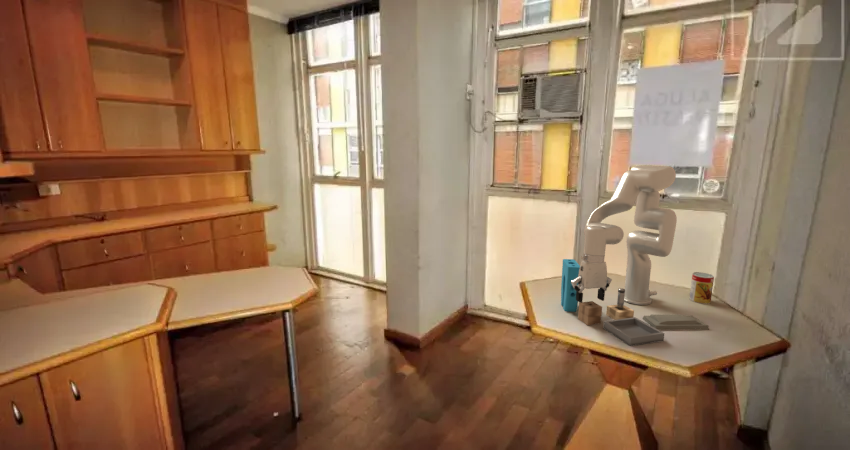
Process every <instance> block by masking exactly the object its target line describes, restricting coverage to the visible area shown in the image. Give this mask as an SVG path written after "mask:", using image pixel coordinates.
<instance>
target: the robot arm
mask: <svg viewBox="0 0 850 450" xmlns="http://www.w3.org/2000/svg"><path fill="white" fill-rule="evenodd" d="M676 176H677V174H676V170H675V168H673V167H672V166H668V165H652V164H651V165H650V164H649V165H647V164H642V165H639V164H638V165H634V166H632V167H631V168H630V169H629V170H627V171H625V172H624V173H623V174H622V176H621V178H620V179H619V182H618V183H617V186H616V188H615V189H614V191H613V194H612V195H611V198H610V199H609V200H607V201H606V202H603V203H602V204H601V205H599V206H598V207H597V208H596V209H594V210H593V211H592V212H591V214H590V216H589V218H588V219H587V221H586V224H585V226H584V229H583V230H584V232H583V233H584V244H583V254H582V255H580V259H581V262H580V264H579V265H580V269H579V274H578V277H577V278H576V279H574V280H572V281H571V283H572V286H573V288H574V289H575V290H576V300H577V301H578V303H582V302H583V299H584V291H585V289H587V290H588V289H589V290H590V289H591V290H592V289H597V299H599V300H600V301H603V302H604V301H605V296H606V294H605V293H606V291H607V290H608V288H609V287H610V284H611V283H612V281H613V279H612V278H610V277H608V267H607V262H606V261H605V258H606V257H605V256H606V246H607V245H617V244H619V243H621V242H622V240H623V239H624V235H625V234H624V230H623V229H622V227H620V226H619V225H615V224H609V223H603V220H604V219H605V220H606V218H608V217H610V216H613V215H617V214H620V213H621V214H622V213H624V212H628V211H630V210H631V209H632V208H633V207H634V204H635V202H636V204H635V208H634V209H635V211H634V216H633V218H634V219H633V221H634V225H635V226H636V227H638V228H643V229H649V230H655V231H658V233H656V232H651V231H646V230H633V231H631V232H629V233H628V234H627V236H626V241H625V242H626V250H627V252H626V254H627V257H626V260H627V261H626V269H625V279H624V280H625V282H624V289H625V296H624V303H628V304H633V305H640V306H642V305H643V306H644V305H645V306H646V305H650V304H652V298H651V297H652V296H657V294H658V291H656V290H650V283H651V270H652V261H651V259H650V256H654V257H660V258H665V257H668V256H669V255H670V254H671V252H672V250H673V245H674V239H675V233H676V227H677V214H676V212H675V211H674V210H673V209H671V208H665V207H660V201H661V199H660V198H661V195H660V191H663V190H665V189H668V188H670V186H672V185H673V184H674V182H675V180H676ZM649 255H650V256H649ZM577 283H578V286H577Z"/></svg>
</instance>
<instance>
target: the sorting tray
mask: <svg viewBox="0 0 850 450" xmlns="http://www.w3.org/2000/svg"><path fill="white" fill-rule="evenodd" d="M602 328H603V330H605V332H607V333H610V335H613V336H614V338H617V339H619V340H620V341H622V342H623V343H624V344H626V345H628V346H629V347H634V346H639V345H647V344H654V343H659V342H660V343H661V342H664V341H665V335H666V334H665V332H664V331H662V330H658V329H656V328H654V327H652V326H650V325H649V324H648V323H647V322H645V321H644V320H643V321H642V320H641V319H639V318H637V317H635V316H634V317H633V318H625V319H618V320H614V319H612V320H603V326H602Z"/></svg>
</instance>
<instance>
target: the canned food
mask: <svg viewBox="0 0 850 450" xmlns="http://www.w3.org/2000/svg"><path fill="white" fill-rule="evenodd" d="M714 280H715V275H713V274H712V273H708V272H704V271H703V272H702V271H696V272H695V271H694V272H692V274H691V284H690V290H689V297H688V298H689V300H690V301H691V302H693V303H698V304H703V305H706V304H707V305H708V304H710V303H712V295H713V287H714Z"/></svg>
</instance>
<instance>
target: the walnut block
mask: <svg viewBox="0 0 850 450" xmlns="http://www.w3.org/2000/svg"><path fill="white" fill-rule="evenodd" d="M577 313H578V316H577V317H578V318H577V320H579V321H580V322H582V323H583V324H584V325H586V326H594V325H601V324H602V315H603V314H602V313H603V306H601V305H600V304H598V303H596V302H594V301H593V300H591V301H582V303H580V302H578V312H577Z"/></svg>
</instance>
